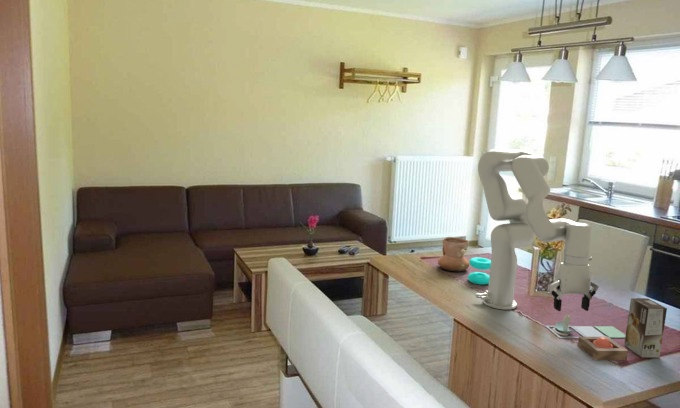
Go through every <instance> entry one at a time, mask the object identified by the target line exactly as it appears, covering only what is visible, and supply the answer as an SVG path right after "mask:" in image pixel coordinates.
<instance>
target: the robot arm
mask: <svg viewBox="0 0 680 408" xmlns="http://www.w3.org/2000/svg"><path fill="white" fill-rule="evenodd" d="M549 169H550V166H549V163H548V160H547V159H546V158H545V157H544V156H542V155H540V154H537V153H532V152H528V151H524V150H521V149H513V148H511V149H510V148H509V149H508V148H496V149H495V148H494V149H489V150H487V151H485V152H484V153H482V155H481V156H480V158H479V160H478V164H477V172H478V176H479V179H480V182H481V185H482V187H483V193H484V198H485V201H486V205H487V210H488V213H489V216H490V218H491V219H492V220H493V221H497V222H503V221H509V222H508V223H501V224H499V225H496V226H495V227H494V228H493V229H492V231H491V233H490V246H491V256H490V258H491V259H490V260H491V267H490V269H489V276H490V277H489V284H488V288H487V289H485V292H483V293H480V292H475V294H474V296H475V299H480V300H481V301H482V302H483V304H484V305H486V306H487V307H489V308H492V309H496V310H502V311H505V310H507V311H509V310H514V309H516V308H517V307H518V303H517V302H516V300H515V299H514V296H515V286H516V276H517V270H518V269H517V268H518V267H517V266H518V257H517V253H516V249H518V248H525V247H528V246H531V244H532V243H533V242H534V239H535V236H536V237H537V238H538V239H539V240H540V241H541V242H543V243H544V242H545V243H553V242H559V241H560V242H561V241H563V242H564V247H563V248H564V250H563V260H562V261H563V262H560V263H559V267H558V269H557V274H556V279H555V281H554V282H551V283H550V284H548V285H547V288H548V291H549V293H550V294H551V295H552V297H553V308H554V309H555V310H556V311H558V312H561V311H562V304H563V303H562V301H563V300H562V299H561V298H562V297H564V295H583V296H582V297H581V305H580V306H581V309H582V310H584V311H586V312H588V311H589V309H590V303H591V300H592V298H593V297H594V296H595V295H596V293H597V291H598V290H599V287H600V286H599V285H598V284H596V283H594V282H592V281H591V279H592V278H591V266H590V264H589V262H590V261H592V260H593V258H592V256H590V247H591V236H592V226H591V225H590V224H588V223H584V222H576V221H573V220H571V219H567V218H553V219H552V218H551V219H550V218H549V216H548V215H547V213H546V211H545V209H544V205H543V204H544V199H545V198H547V196H548V195H549V194H550V192H551V187H550V185H549V184H548V182H547V180H546V179H545V176H546V175H547V174H548V172H549ZM500 172H512V174H513V176H514V177H515V179H516V182H517V183H518V185H519V186H520V189H521V190H522V192H523V194H524V196H525V199H526V200H525V199H524V198H523V197H521V196H520V195H515V194H513V195H510V193H509V191H508V188H507V187H508V186H507V184H506V181H505V180H504V178H503V177H502V175H501V174H500Z"/></svg>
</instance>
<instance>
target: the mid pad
mask: <svg viewBox="0 0 680 408" xmlns="http://www.w3.org/2000/svg"><path fill="white" fill-rule="evenodd" d="M572 327H574V328H575V329H576V330H578V331H579V332H580V333H582V334H583V335H584V336H586V337H607V336H606V335H605V334H603V333H602V332H600V331H599V330H597V329H596V328H595V327H594V326H591V325H587V326H584V325H581V326H579V325H576V326H575V325H573V326H572Z"/></svg>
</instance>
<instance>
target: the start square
mask: <svg viewBox="0 0 680 408" xmlns="http://www.w3.org/2000/svg"><path fill="white" fill-rule="evenodd" d="M554 327H556V325H545V328H546V329H548V330H549V332H551V333H553V334H554V336H556V337H558V339H577V340H578V339H579V337H586V336H584V335H583V334H582V333H580V332H579V331H578V330H576V329H575V328H574V327H573V326H572V325H568V327H569V328H571V329H572V330H573V331H575V332H576V333H577V334H579V335H580V336H561V335H559V334H557V333H555V332H554V331H553V330H552V328H554Z"/></svg>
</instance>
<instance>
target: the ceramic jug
mask: <svg viewBox="0 0 680 408" xmlns="http://www.w3.org/2000/svg"><path fill="white" fill-rule="evenodd" d="M469 244H470V241H469V240H467V239H464V238H460V237H452V236H447V237H443V238H442V256H440V257H439V258H438V260H437V264H438V265H439V266H440V267H441V268H442V269H444V270H447V271H450V272H462V271H465V270H467V269H468V268H469V266H471V265H470V263H469V261H470V260H468V259H467V258H466V257H465V253H467V249H468V247H469Z"/></svg>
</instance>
